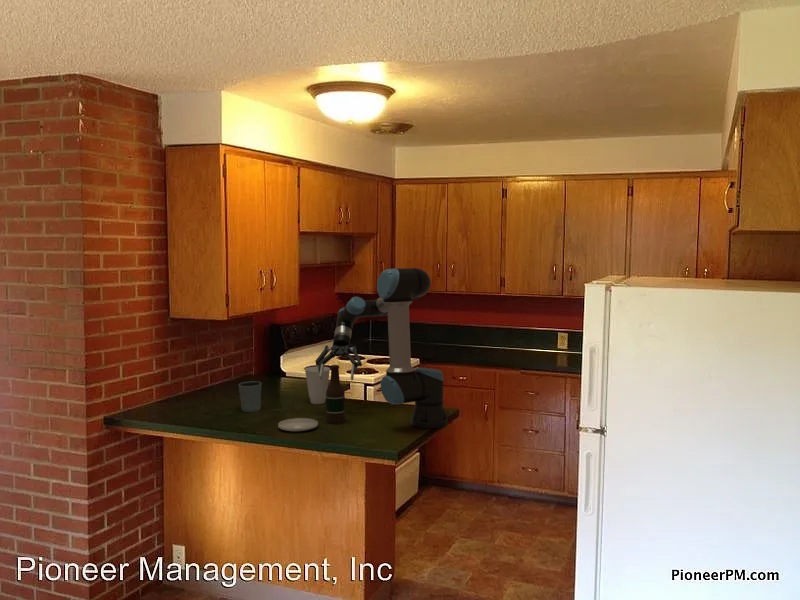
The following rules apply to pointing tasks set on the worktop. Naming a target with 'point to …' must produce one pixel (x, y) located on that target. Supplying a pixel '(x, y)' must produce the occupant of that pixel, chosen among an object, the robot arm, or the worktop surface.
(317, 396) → the cup
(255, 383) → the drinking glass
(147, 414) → the worktop surface
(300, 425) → the dish
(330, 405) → the beer bottle
